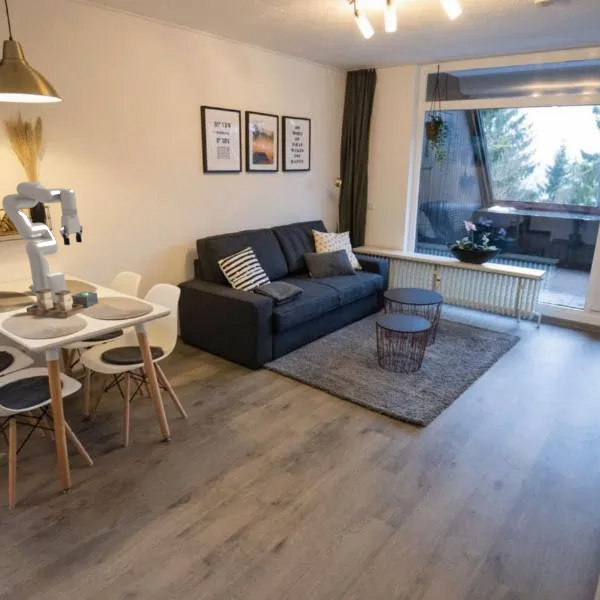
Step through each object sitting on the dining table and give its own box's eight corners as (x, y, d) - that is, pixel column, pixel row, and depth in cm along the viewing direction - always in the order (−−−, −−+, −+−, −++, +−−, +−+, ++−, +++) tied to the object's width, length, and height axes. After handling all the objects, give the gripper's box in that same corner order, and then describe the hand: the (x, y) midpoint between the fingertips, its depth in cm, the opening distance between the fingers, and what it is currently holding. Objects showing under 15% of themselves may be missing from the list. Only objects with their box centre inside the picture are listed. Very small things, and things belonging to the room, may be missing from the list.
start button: (79, 302, 265) (78, 294, 264) (84, 300, 269) (83, 292, 268) (86, 303, 264) (85, 294, 263) (90, 301, 268) (89, 292, 267)
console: (73, 306, 264) (71, 295, 262) (84, 301, 272) (82, 291, 271) (87, 307, 262) (86, 297, 260) (97, 303, 270) (96, 292, 269)
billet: (57, 311, 250) (54, 292, 247) (64, 308, 255) (61, 290, 252) (65, 312, 249) (63, 293, 246) (72, 309, 254) (70, 290, 251)
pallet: (27, 313, 250) (26, 308, 249) (45, 306, 262) (44, 301, 262) (66, 317, 245) (66, 312, 244) (83, 310, 257) (83, 305, 256)
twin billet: (38, 309, 253) (35, 290, 250) (45, 306, 258) (42, 288, 255) (46, 310, 252) (43, 291, 249) (53, 307, 256) (50, 289, 254)
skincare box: (64, 297, 280) (61, 271, 275) (68, 300, 275) (65, 273, 271) (48, 300, 274) (45, 273, 270) (52, 302, 269) (49, 275, 265)
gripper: (74, 210, 272) (77, 240, 277) (52, 213, 256) (56, 245, 261) (85, 211, 270) (89, 241, 275) (64, 214, 254) (68, 246, 259)
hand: (73, 243), depth 268 cm, fingers open, 9 cm apart
